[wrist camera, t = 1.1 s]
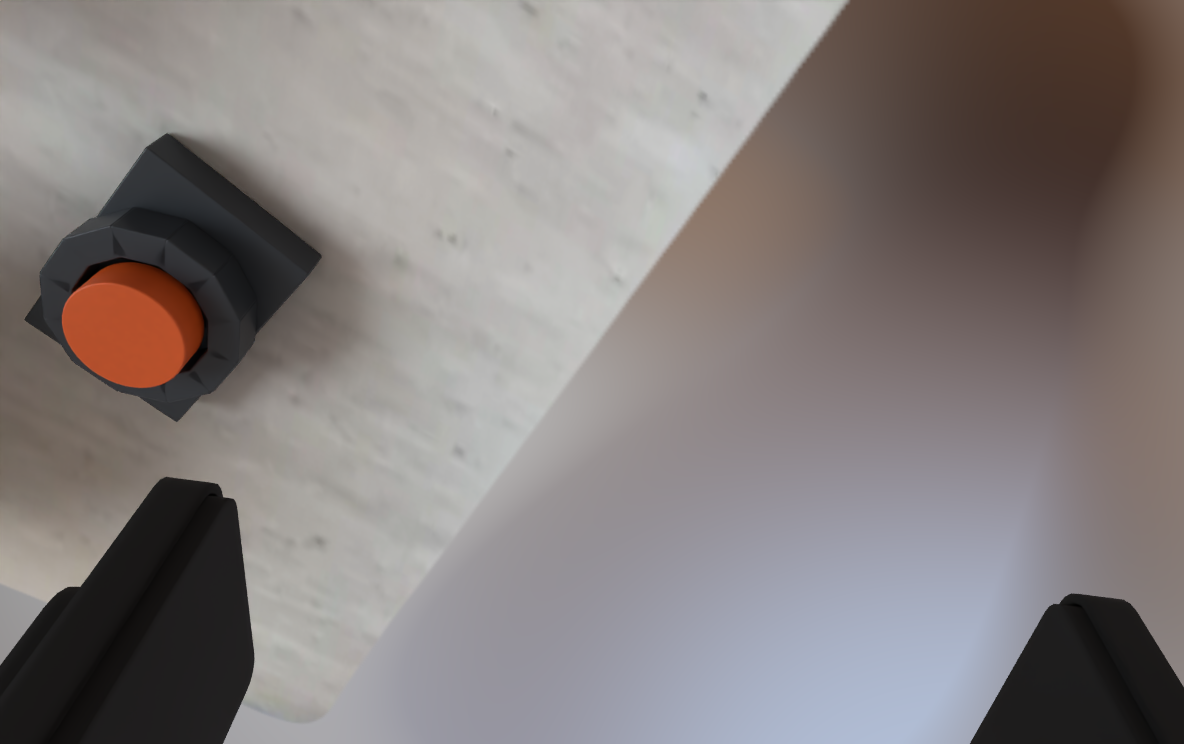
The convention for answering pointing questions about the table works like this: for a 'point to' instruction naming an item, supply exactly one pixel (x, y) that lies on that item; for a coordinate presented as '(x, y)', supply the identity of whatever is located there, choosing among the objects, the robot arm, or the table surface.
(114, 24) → the table surface
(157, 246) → the button block
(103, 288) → the button
